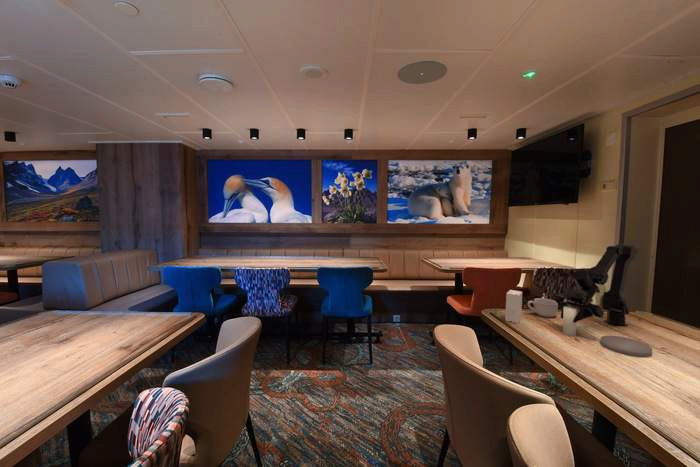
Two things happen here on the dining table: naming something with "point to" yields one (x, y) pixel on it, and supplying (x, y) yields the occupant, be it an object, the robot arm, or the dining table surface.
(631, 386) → the dining table surface
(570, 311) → the canister
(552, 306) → the teacup
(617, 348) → the grey-brown round disc
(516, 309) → the skincare box
